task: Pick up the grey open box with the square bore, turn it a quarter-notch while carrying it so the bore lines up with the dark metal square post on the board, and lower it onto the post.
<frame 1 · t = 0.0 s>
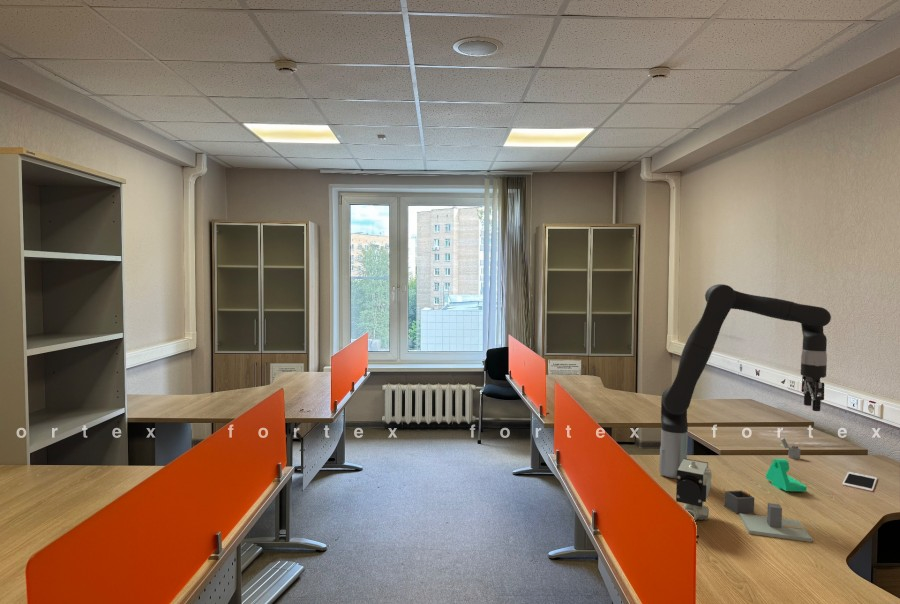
hand: (811, 408, 189), 29 cm above the table, fingers open, 8 cm apart
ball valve: (693, 518, 166), on the table
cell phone: (859, 483, 198), on the table
grey base with post: (773, 528, 159), on the table
lighter: (789, 457, 225), on the table
camera mount: (786, 488, 192), on the table
grey open box: (739, 509, 172), on the table
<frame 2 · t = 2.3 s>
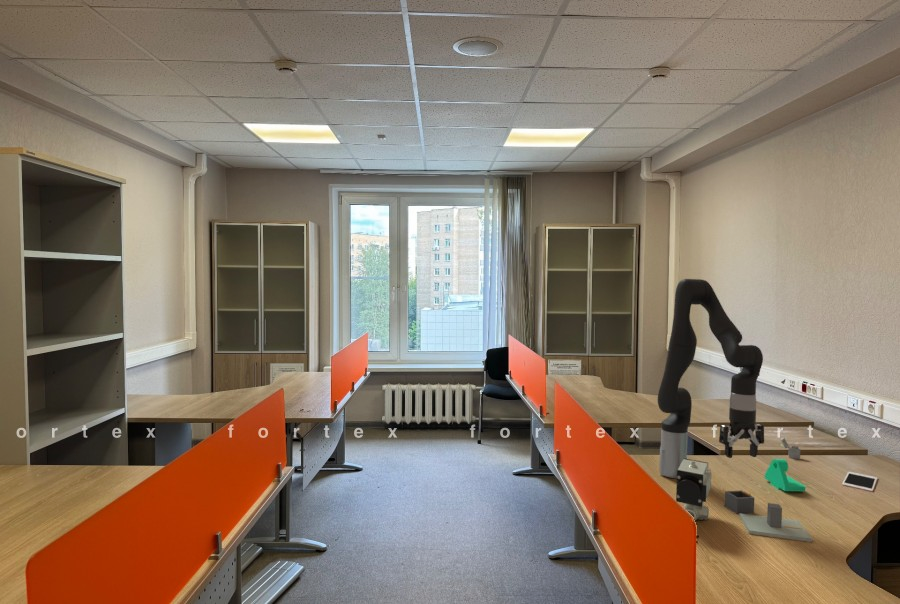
hand: (741, 456, 171), 17 cm above the table, fingers open, 8 cm apart
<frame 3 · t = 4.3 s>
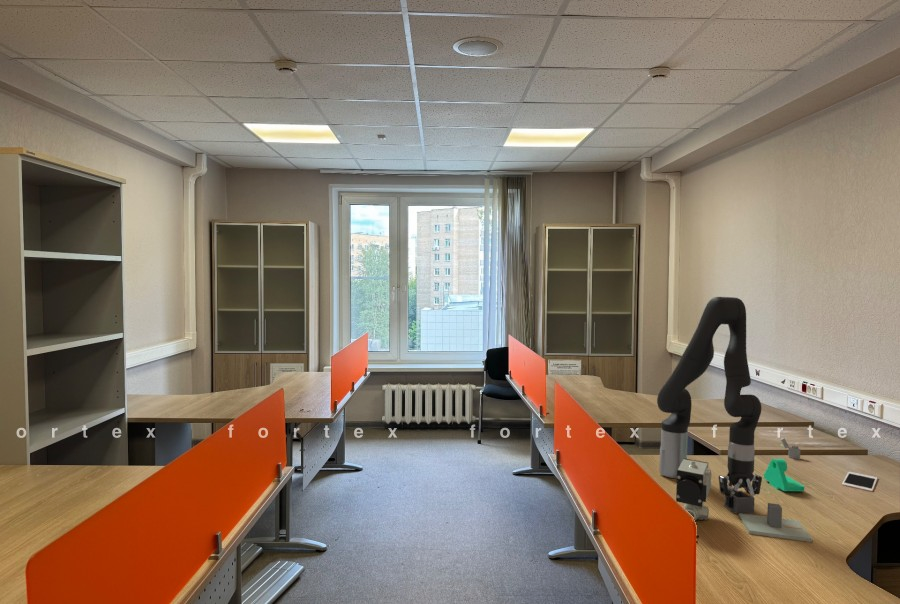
hand: (739, 507, 172), 1 cm above the table, fingers closed on grey open box, 6 cm apart
grey open box: (739, 509, 172), on the table, touching gripper
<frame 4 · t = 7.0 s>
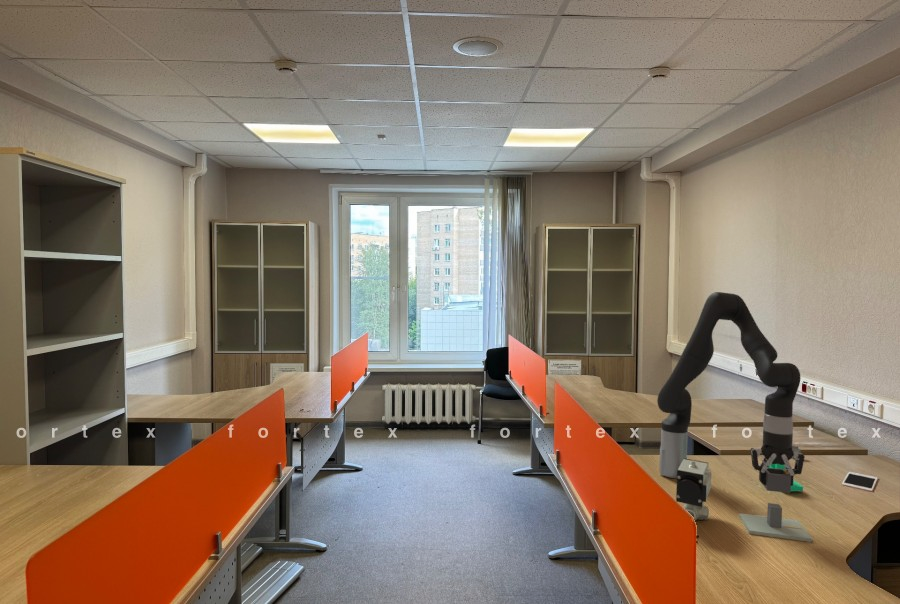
hand: (775, 485, 158), 13 cm above the table, fingers closed on grey open box, 6 cm apart
grey open box: (775, 488, 158), point 12 cm above the table, touching gripper
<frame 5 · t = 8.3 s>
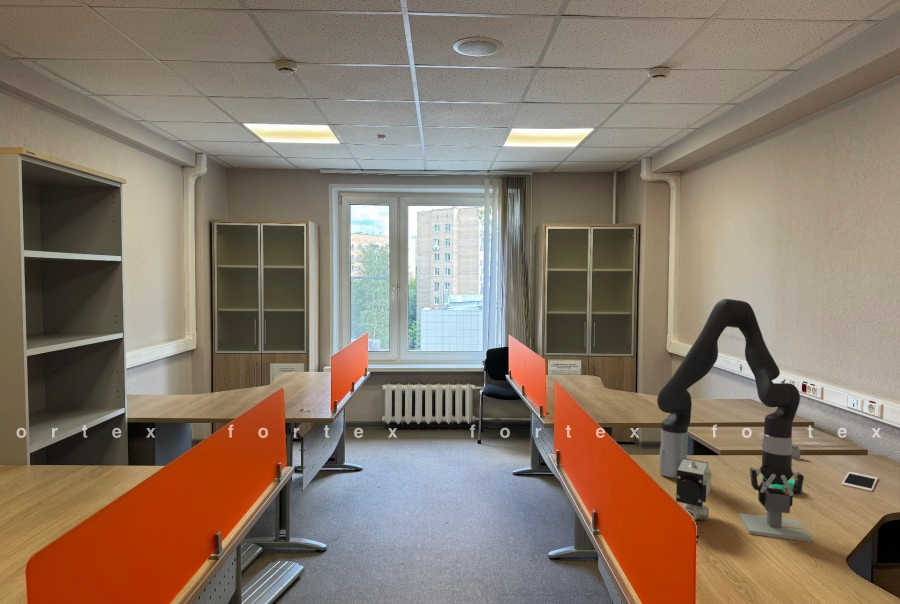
hand: (775, 505, 159), 7 cm above the table, fingers closed on grey open box, 6 cm apart
grey open box: (774, 508, 159), point 6 cm above the table, touching gripper
when the fingers open (3 cm above the table, at t = 9.6 s): grey open box drops 1 cm, resting on grey base with post.
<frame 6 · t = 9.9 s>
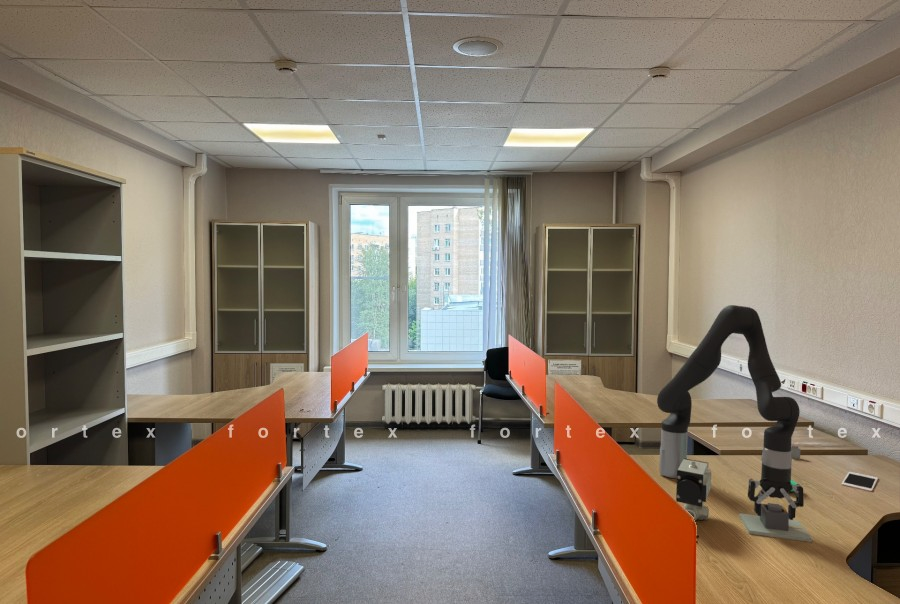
hand: (774, 516, 159), 4 cm above the table, fingers open, 8 cm apart
grey open box: (773, 525, 159), point 1 cm above the table, touching grey base with post
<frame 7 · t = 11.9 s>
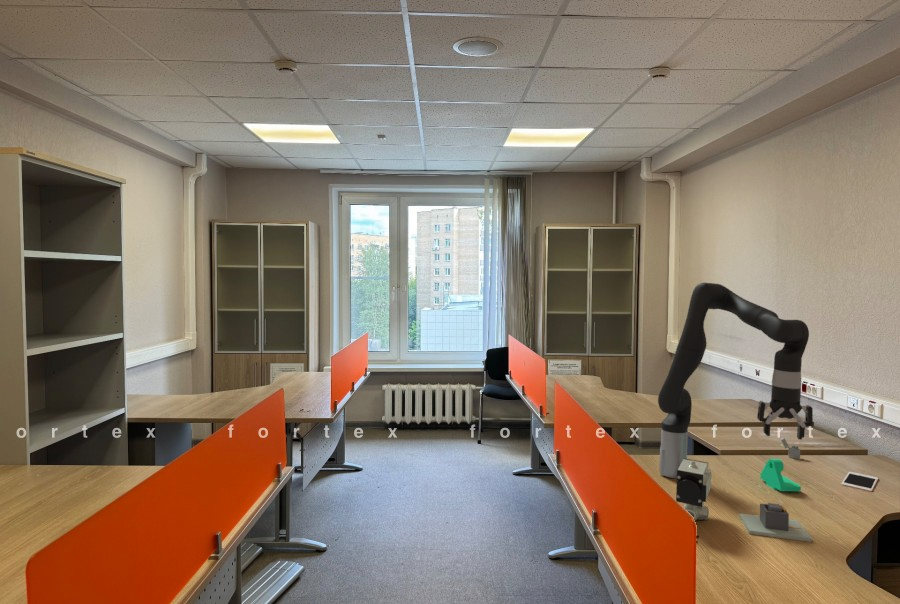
hand: (783, 437, 163), 26 cm above the table, fingers open, 8 cm apart
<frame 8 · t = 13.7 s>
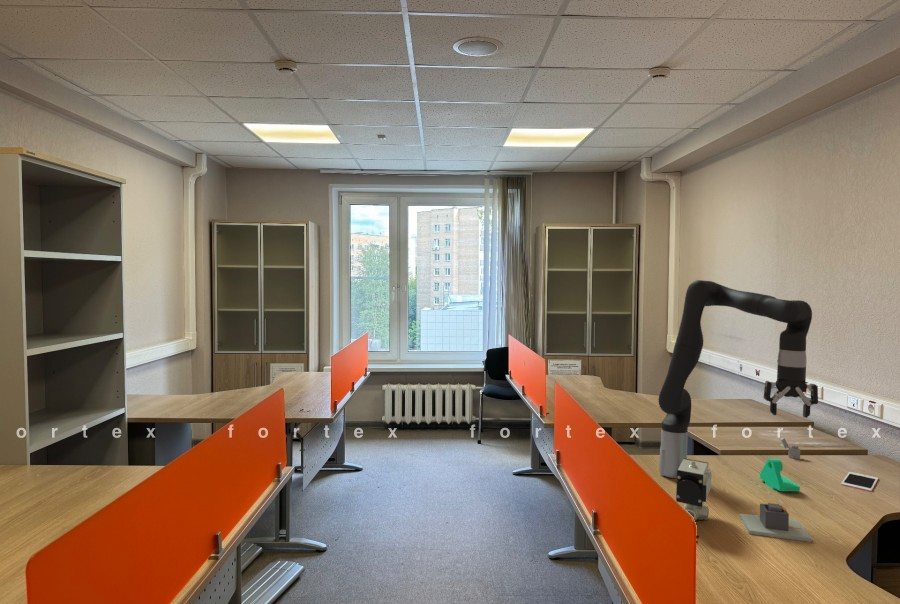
hand: (789, 415, 166), 32 cm above the table, fingers open, 8 cm apart
at the end: grey open box 0.1 cm off-centre on the grey base with post, point 1.1 cm above the grey base with post's base; grey open box tilted 1°; the gripper is holding nothing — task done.
